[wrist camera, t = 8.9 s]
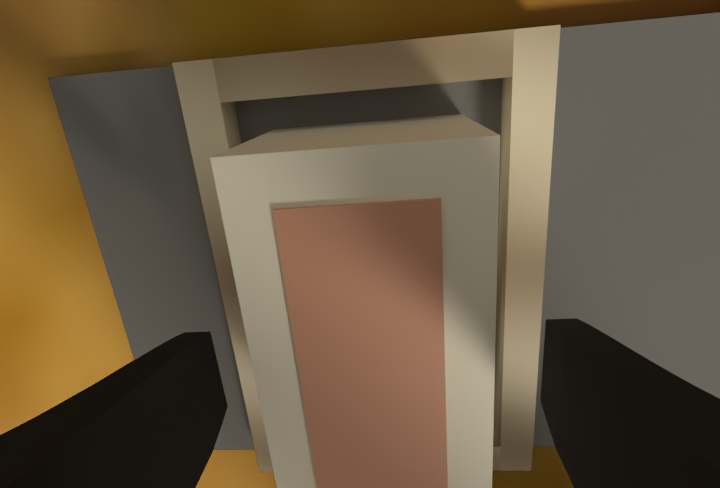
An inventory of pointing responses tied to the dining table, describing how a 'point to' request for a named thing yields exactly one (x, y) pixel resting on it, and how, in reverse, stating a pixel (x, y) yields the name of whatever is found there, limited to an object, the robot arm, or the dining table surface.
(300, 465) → the card box
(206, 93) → the frame
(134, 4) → the dining table surface
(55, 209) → the dining table surface
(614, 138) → the mat
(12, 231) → the dining table surface
